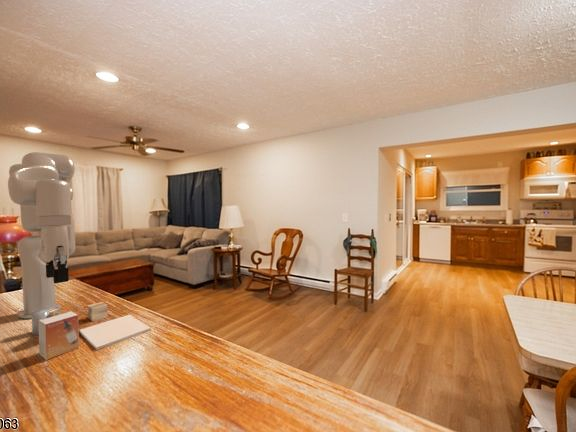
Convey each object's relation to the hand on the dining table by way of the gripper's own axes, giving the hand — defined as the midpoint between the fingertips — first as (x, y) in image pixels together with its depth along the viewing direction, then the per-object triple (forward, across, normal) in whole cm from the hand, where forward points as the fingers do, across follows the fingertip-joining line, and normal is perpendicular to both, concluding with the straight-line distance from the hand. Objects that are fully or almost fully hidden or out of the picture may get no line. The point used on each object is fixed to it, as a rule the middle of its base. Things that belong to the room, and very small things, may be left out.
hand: (57, 279), depth 77 cm
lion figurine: (+22, -16, +3) cm, 27 cm away
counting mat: (+22, -2, +15) cm, 27 cm away
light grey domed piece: (+22, -22, -1) cm, 31 cm away
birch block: (+22, -20, +15) cm, 33 cm away
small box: (+22, -1, 0) cm, 22 cm away
